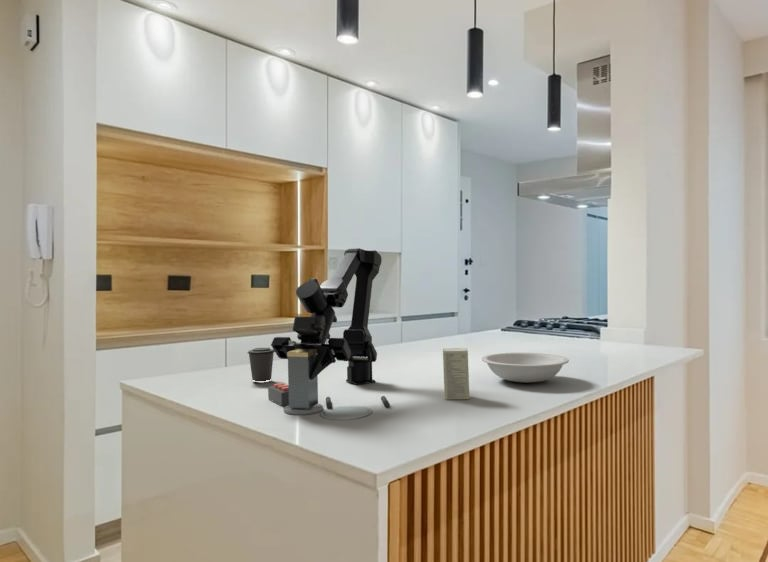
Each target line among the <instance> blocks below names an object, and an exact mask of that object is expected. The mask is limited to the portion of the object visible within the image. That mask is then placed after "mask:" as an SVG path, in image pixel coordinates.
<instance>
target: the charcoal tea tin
mask: <svg viewBox="0 0 768 562" xmlns="http://www.w3.org/2000/svg"><path fill="white" fill-rule="evenodd" d="M287 357H288V359H287V372H288V373H287V375H288V377H287V378H288V383H287V385H288V387H289V408H305V409H309V408H311V407H313V406H315V405H316V404H319V389H318V387H319V386H318V385H319V383H318V378H319V376H318V375H319V374H318V375H317V376H316V377H315V378H314V379H313V380H311V379H310V374H311V370H312V368H313V365H314V362H315V360H316V357H317V349H296V350H292V351H289V352H287Z"/></svg>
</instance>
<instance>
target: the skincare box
mask: <svg viewBox="0 0 768 562" xmlns="http://www.w3.org/2000/svg"><path fill="white" fill-rule="evenodd" d="M442 359H443V360H442V361H443V362H442V363H443V387H444V394H443V395H444V400H470V378H469V377H470V375H469V373H470V372H469V350H468V347H463V348H460V347H459V348H458V347H457V348H456V347H455V348H442Z"/></svg>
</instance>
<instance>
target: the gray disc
mask: <svg viewBox="0 0 768 562" xmlns="http://www.w3.org/2000/svg"><path fill="white" fill-rule="evenodd" d="M323 410H324V405H323V404H320V403H318V404H316V405H315V406H313V407H311V408H309V409H305V408H289V405H286V406H283V413H284V412H285V413H284V414H287V413H288V414H287V415H291V414H292V415H293V416H306V415H307V416H308V415H313V414H314V415H315V414H317V413H320V412H322V411H323ZM292 415H291V416H292Z"/></svg>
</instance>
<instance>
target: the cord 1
mask: <svg viewBox="0 0 768 562" xmlns="http://www.w3.org/2000/svg"><path fill="white" fill-rule="evenodd" d="M325 404H326V408H327V409H331V408H332V399H331V397H330V396H326V398H325Z"/></svg>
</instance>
